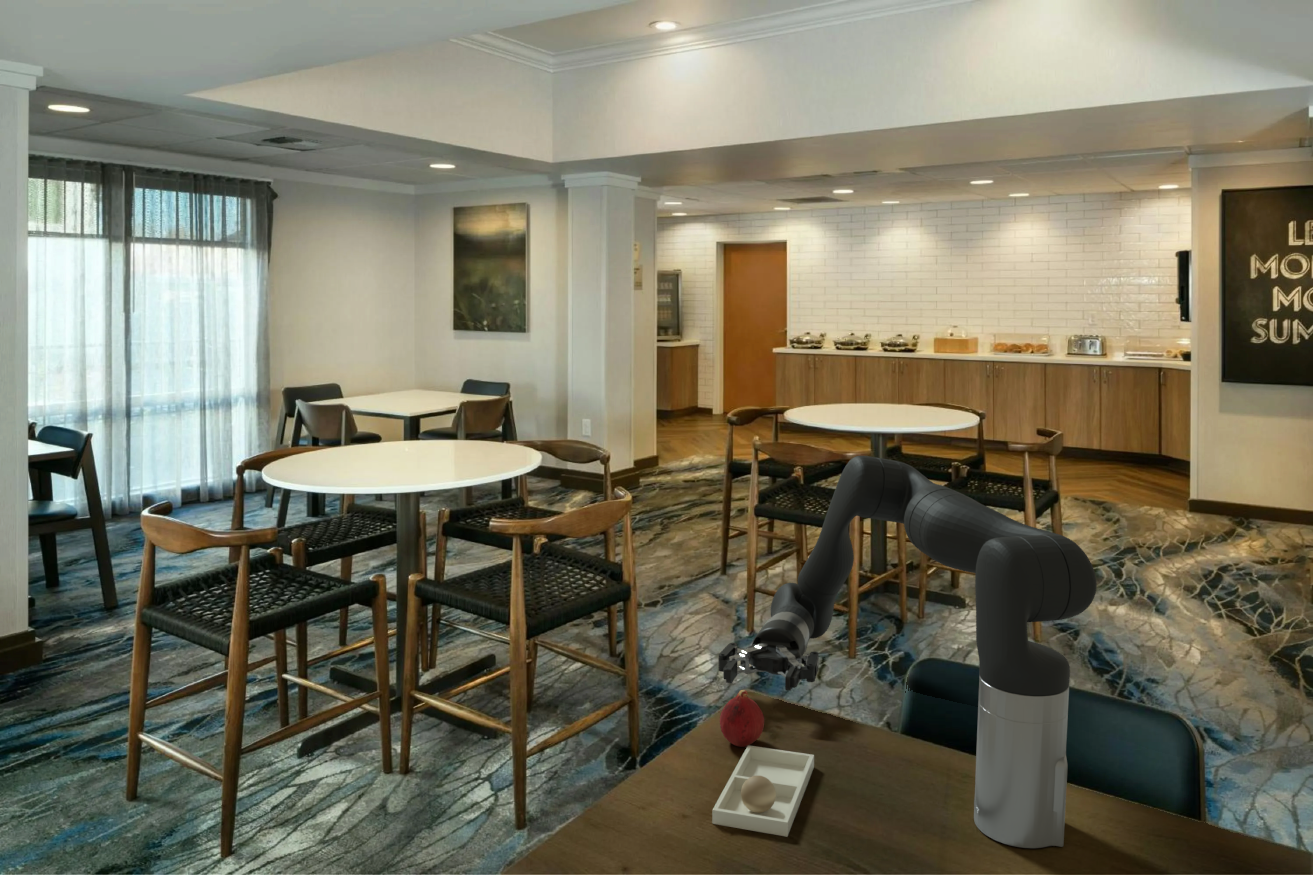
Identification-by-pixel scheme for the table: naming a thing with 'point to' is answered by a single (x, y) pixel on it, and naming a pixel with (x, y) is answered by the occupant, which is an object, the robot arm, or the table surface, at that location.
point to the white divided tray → (788, 780)
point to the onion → (741, 720)
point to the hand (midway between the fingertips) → (757, 680)
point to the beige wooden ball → (758, 794)
